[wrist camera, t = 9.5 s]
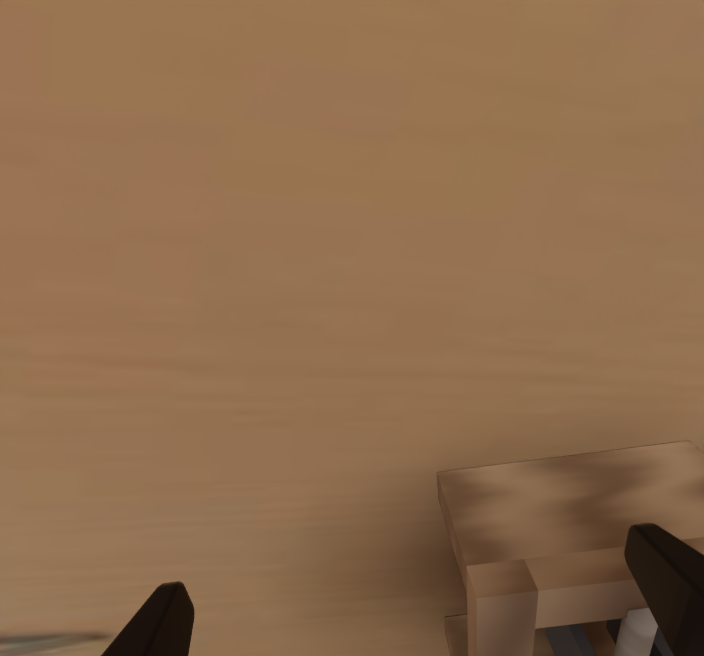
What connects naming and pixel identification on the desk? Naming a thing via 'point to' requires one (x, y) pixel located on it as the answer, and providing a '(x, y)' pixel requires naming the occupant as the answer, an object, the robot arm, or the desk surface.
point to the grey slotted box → (577, 650)
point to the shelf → (563, 545)
